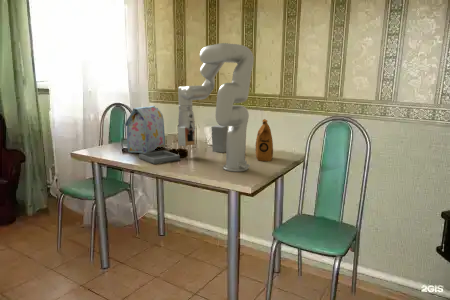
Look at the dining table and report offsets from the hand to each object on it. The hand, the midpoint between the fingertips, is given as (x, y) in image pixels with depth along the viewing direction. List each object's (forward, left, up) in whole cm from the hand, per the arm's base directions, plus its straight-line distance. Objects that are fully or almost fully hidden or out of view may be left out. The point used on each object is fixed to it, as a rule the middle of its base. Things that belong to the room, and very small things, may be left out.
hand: (186, 140), depth 202 cm
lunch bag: (+29, +10, -10) cm, 32 cm away
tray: (+3, +16, -9) cm, 19 cm away
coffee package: (-31, -31, -10) cm, 45 cm away
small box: (0, 0, -3) cm, 3 cm away
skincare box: (-1, -24, -10) cm, 26 cm away
